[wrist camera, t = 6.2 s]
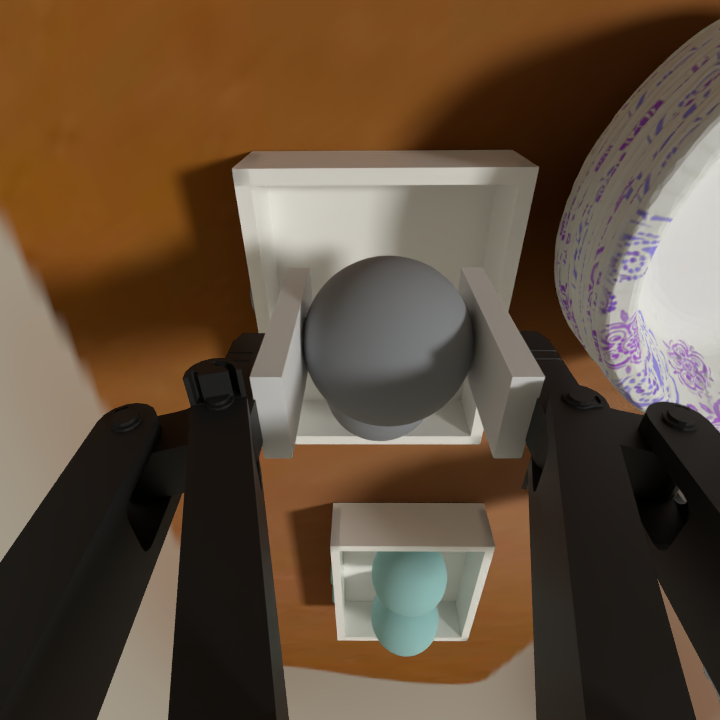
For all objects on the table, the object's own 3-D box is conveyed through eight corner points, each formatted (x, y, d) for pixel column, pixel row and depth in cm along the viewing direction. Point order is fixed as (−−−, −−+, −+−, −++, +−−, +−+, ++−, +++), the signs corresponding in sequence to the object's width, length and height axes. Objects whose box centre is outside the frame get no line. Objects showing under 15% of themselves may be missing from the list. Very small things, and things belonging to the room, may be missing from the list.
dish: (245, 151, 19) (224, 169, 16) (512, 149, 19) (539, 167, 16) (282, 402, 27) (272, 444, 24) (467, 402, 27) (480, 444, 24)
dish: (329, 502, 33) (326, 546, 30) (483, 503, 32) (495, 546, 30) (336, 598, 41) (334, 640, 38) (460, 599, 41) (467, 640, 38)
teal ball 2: (370, 564, 36) (371, 637, 32) (436, 565, 36) (447, 637, 32) (370, 598, 40) (371, 668, 35) (430, 598, 40) (439, 668, 35)
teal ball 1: (371, 518, 33) (372, 592, 28) (444, 518, 33) (457, 592, 28) (370, 558, 36) (371, 631, 31) (437, 559, 36) (448, 631, 31)
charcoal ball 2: (325, 311, 23) (316, 374, 18) (431, 311, 23) (448, 374, 18) (330, 393, 26) (323, 464, 21) (423, 393, 26) (436, 465, 21)
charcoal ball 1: (305, 232, 15) (281, 304, 10) (465, 231, 15) (510, 302, 10) (316, 364, 18) (300, 463, 14) (448, 363, 18) (478, 463, 14)
